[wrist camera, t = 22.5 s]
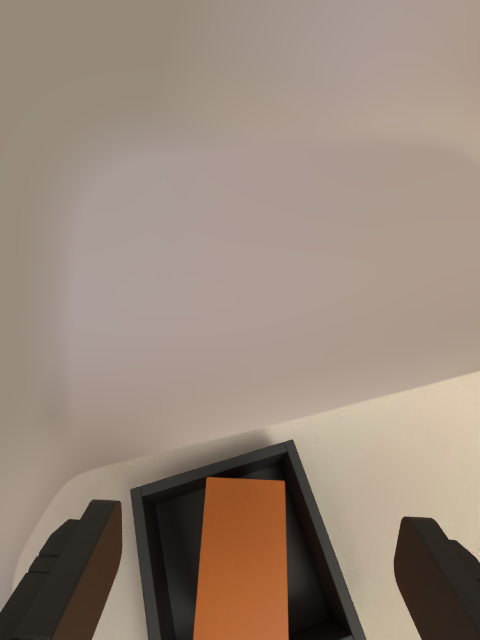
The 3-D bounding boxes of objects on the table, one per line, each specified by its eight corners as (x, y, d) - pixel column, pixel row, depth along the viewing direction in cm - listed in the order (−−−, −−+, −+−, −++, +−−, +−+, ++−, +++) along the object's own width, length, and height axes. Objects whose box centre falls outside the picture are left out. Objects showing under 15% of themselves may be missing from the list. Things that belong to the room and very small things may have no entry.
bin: (175, 693, 26) (160, 735, 21) (147, 498, 33) (129, 489, 27) (340, 624, 29) (368, 644, 23) (282, 455, 36) (293, 439, 30)
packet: (204, 624, 28) (190, 670, 18) (213, 497, 33) (206, 477, 22) (267, 626, 28) (289, 675, 18) (267, 499, 33) (284, 480, 23)
